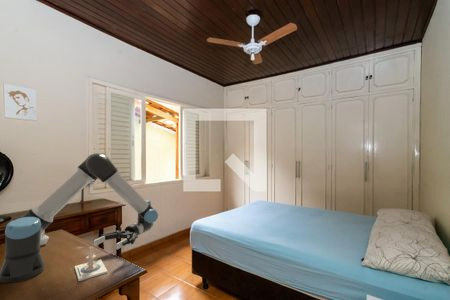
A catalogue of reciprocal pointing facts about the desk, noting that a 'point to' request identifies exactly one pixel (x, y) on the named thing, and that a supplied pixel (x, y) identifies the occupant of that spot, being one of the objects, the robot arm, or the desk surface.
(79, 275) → the cream rectangular board
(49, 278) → the desk surface
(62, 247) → the desk surface
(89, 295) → the desk surface
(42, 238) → the figurine
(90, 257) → the white stepped tower
